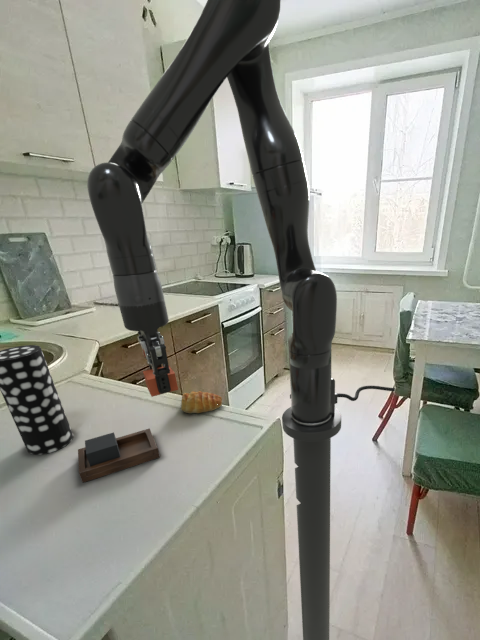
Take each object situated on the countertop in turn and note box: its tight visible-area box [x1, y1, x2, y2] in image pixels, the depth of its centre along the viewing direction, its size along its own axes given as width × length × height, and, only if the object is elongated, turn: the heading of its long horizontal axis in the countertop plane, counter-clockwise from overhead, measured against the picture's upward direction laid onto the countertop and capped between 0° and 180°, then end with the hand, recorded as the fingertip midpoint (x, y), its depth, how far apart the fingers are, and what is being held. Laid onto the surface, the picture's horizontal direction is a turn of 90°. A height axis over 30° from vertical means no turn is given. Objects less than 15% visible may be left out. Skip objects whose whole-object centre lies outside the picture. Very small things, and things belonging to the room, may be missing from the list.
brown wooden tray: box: [77, 427, 161, 484], centre depth 67 cm, size 13×8×2 cm, turn 120°
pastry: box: [180, 390, 223, 414], centre depth 83 cm, size 9×7×4 cm
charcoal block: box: [84, 431, 121, 467], centre depth 65 cm, size 5×5×4 cm
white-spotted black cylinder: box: [0, 344, 74, 456], centre depth 69 cm, size 8×8×20 cm
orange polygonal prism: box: [142, 365, 179, 398], centre depth 68 cm, size 5×5×4 cm
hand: (162, 386), depth 69 cm, fingers closed on orange polygonal prism, 5 cm apart
